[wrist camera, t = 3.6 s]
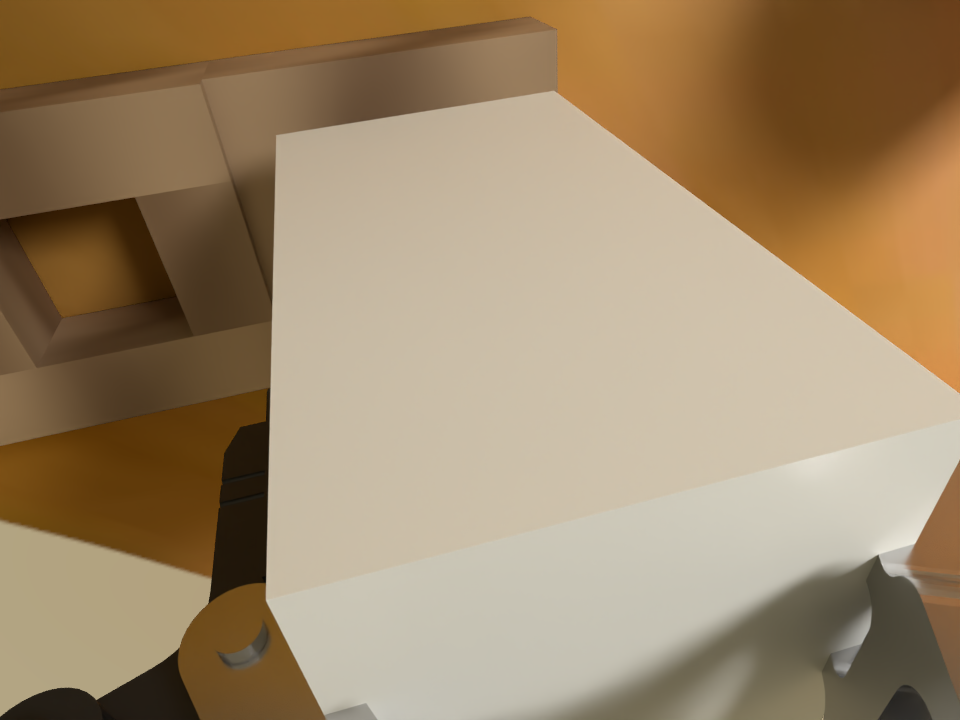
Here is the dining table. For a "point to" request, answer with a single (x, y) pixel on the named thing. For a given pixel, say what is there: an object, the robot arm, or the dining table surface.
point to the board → (362, 93)
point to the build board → (176, 234)
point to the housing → (568, 433)
